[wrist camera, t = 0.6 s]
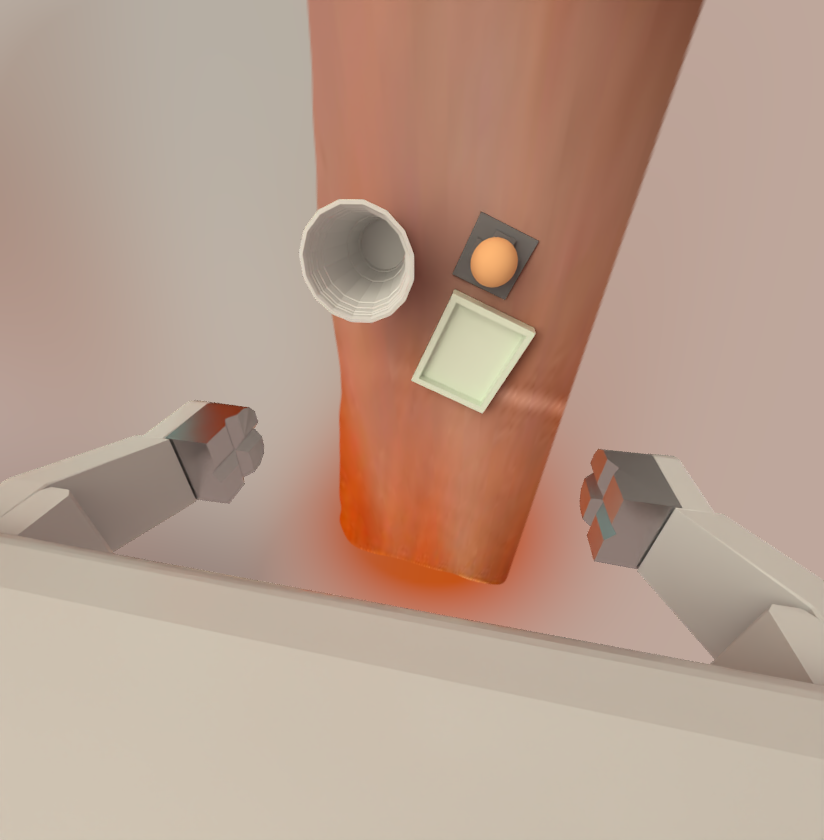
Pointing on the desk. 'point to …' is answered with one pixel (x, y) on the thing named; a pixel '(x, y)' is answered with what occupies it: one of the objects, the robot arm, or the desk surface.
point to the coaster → (489, 229)
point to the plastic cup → (357, 260)
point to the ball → (494, 262)
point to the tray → (472, 351)
